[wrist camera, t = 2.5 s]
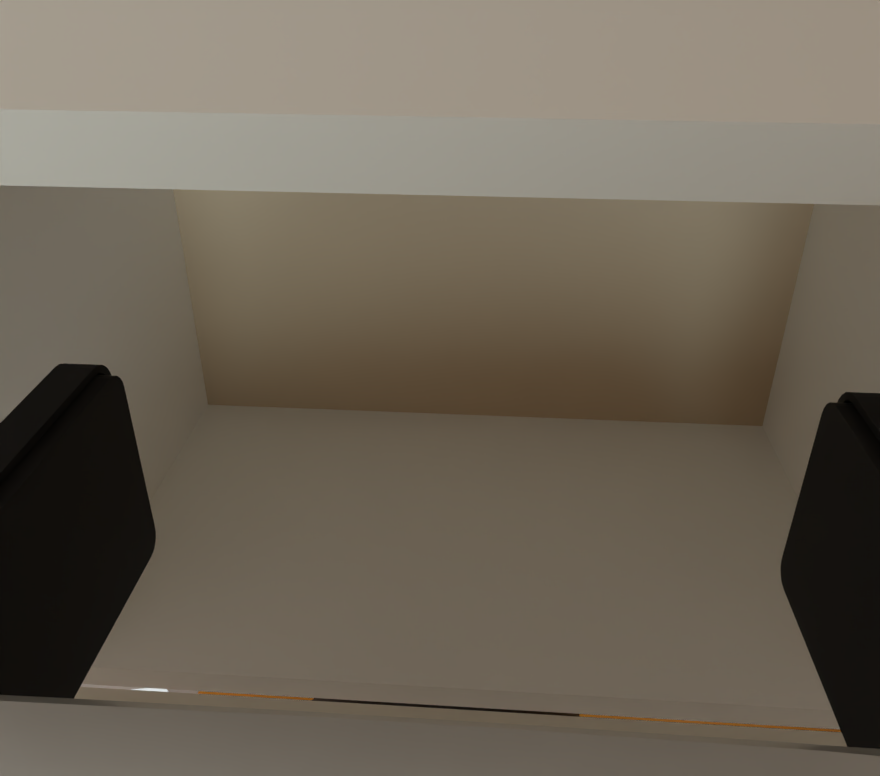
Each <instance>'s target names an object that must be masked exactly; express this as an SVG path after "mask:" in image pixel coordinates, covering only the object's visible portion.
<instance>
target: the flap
mask: <svg viewBox="0 0 880 776" xmlns="http://www.w3.org/2000/svg"><path fill="white" fill-rule="evenodd" d="M0 185H5V186H49V187H93V188H137V189H181V190H225V191H269V192H313V193H357V194H401V195H445V196H489V197H533V198H577V199H622V200H666V201H710V202H754V203H798V204H842V205H880V0H0Z"/></svg>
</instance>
